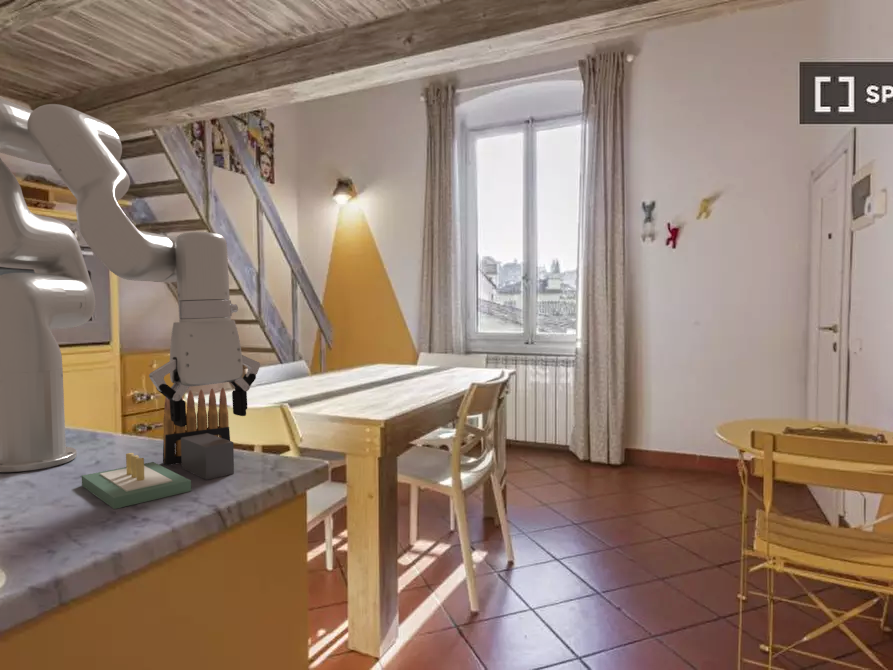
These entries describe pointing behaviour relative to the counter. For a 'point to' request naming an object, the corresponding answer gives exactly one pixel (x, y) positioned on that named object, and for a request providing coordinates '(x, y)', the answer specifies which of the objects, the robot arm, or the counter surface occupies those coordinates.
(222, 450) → the block
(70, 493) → the counter surface
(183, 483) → the header board
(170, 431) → the ammunition clip
